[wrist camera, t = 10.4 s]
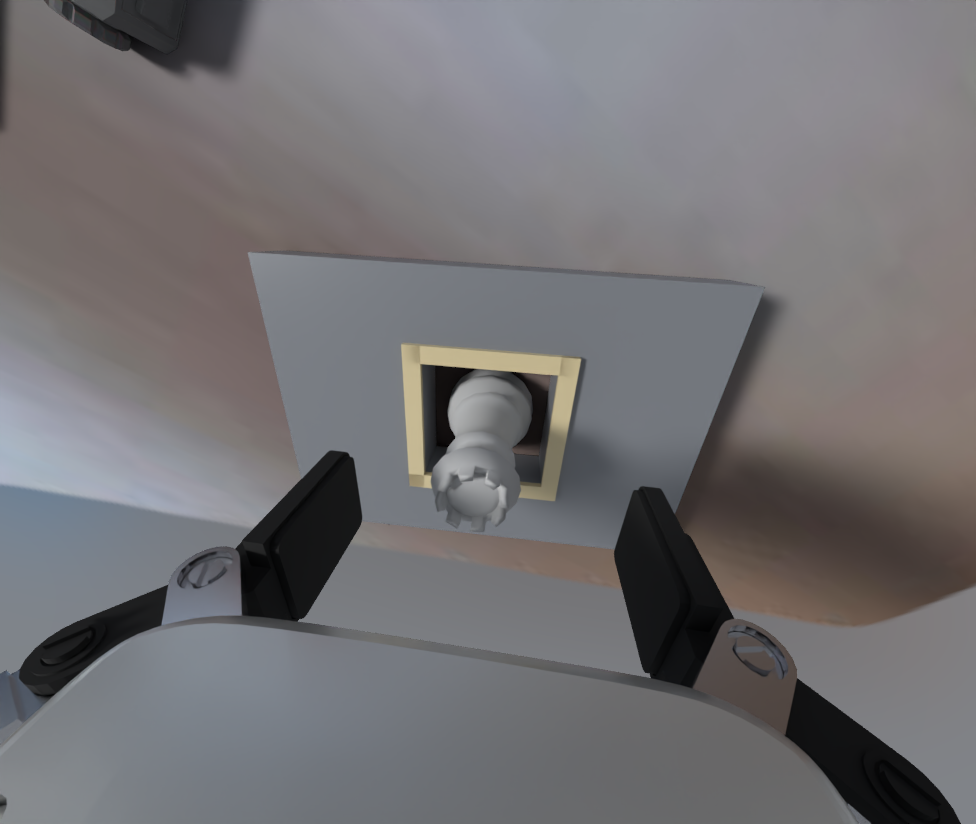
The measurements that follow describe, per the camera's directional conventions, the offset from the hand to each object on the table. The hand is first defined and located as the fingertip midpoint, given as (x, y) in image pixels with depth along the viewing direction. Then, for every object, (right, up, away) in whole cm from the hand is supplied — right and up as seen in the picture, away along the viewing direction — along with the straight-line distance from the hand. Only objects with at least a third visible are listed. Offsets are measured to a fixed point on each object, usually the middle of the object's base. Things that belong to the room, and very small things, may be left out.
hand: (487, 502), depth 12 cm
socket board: (0, +3, +7) cm, 8 cm away
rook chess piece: (0, +4, +7) cm, 8 cm away
